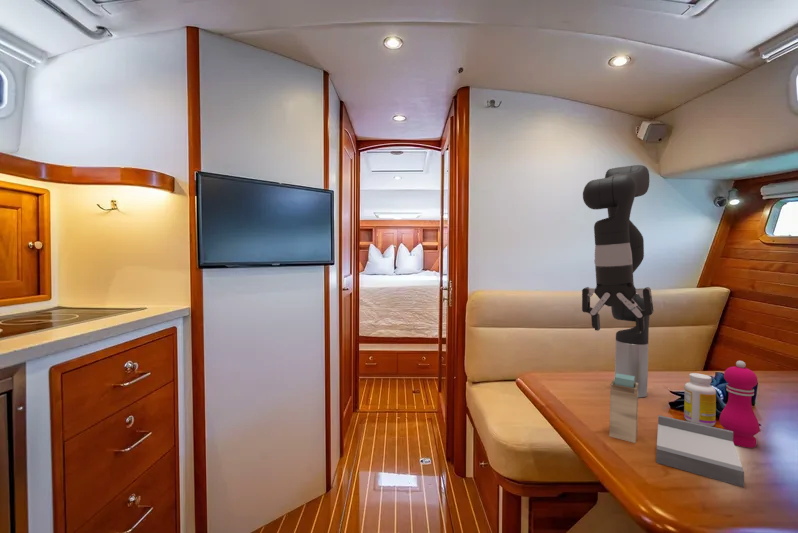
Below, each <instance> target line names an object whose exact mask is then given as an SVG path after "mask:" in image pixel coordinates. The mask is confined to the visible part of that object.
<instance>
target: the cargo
mask: <svg viewBox="0 0 798 533" xmlns="http://www.w3.org/2000/svg"><path fill="white" fill-rule="evenodd" d="M614 379H615V383H614V385H619V386H625V387H630V388H634V387H635V376H630V375H624V374H618V373H616V375H615V374H614Z"/></svg>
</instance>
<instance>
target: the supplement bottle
mask: <svg viewBox="0 0 798 533" xmlns="http://www.w3.org/2000/svg"><path fill="white" fill-rule="evenodd" d="M688 376H689V382H686V383H685V384H684V400H683V401H684V402H683V403H684V405H683V406H684V407H683V416H684V419H685V421H688V422H693V423H697V424H702V425H706V426H711V427H715V425H716V417H717V416H716V412H717V403H716V402H717V390H716V389H715V387H714V386H712V385H711V383H712V377H711V376H709V375H707V374H703V373H698V372H697V373H696V372H692V373H689V375H688Z"/></svg>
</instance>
